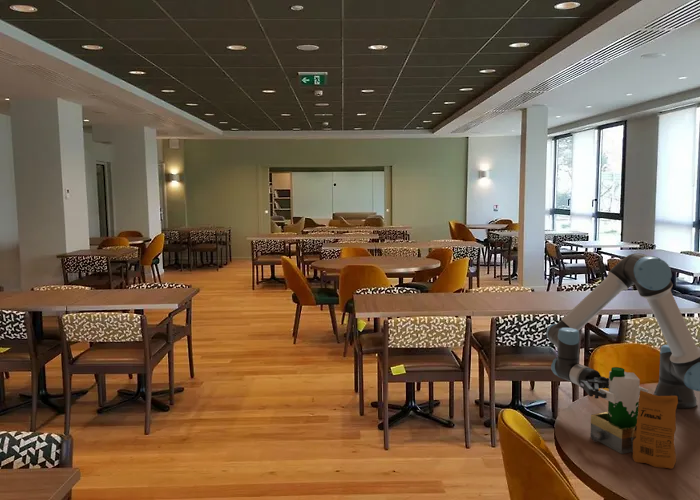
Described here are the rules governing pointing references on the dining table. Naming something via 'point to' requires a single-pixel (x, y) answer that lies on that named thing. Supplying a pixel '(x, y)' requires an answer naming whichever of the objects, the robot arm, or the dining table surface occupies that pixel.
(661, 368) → the robot arm
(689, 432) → the dining table surface
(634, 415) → the soya milk
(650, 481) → the dining table surface
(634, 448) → the coffee package
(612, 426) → the open square tray
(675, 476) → the dining table surface
